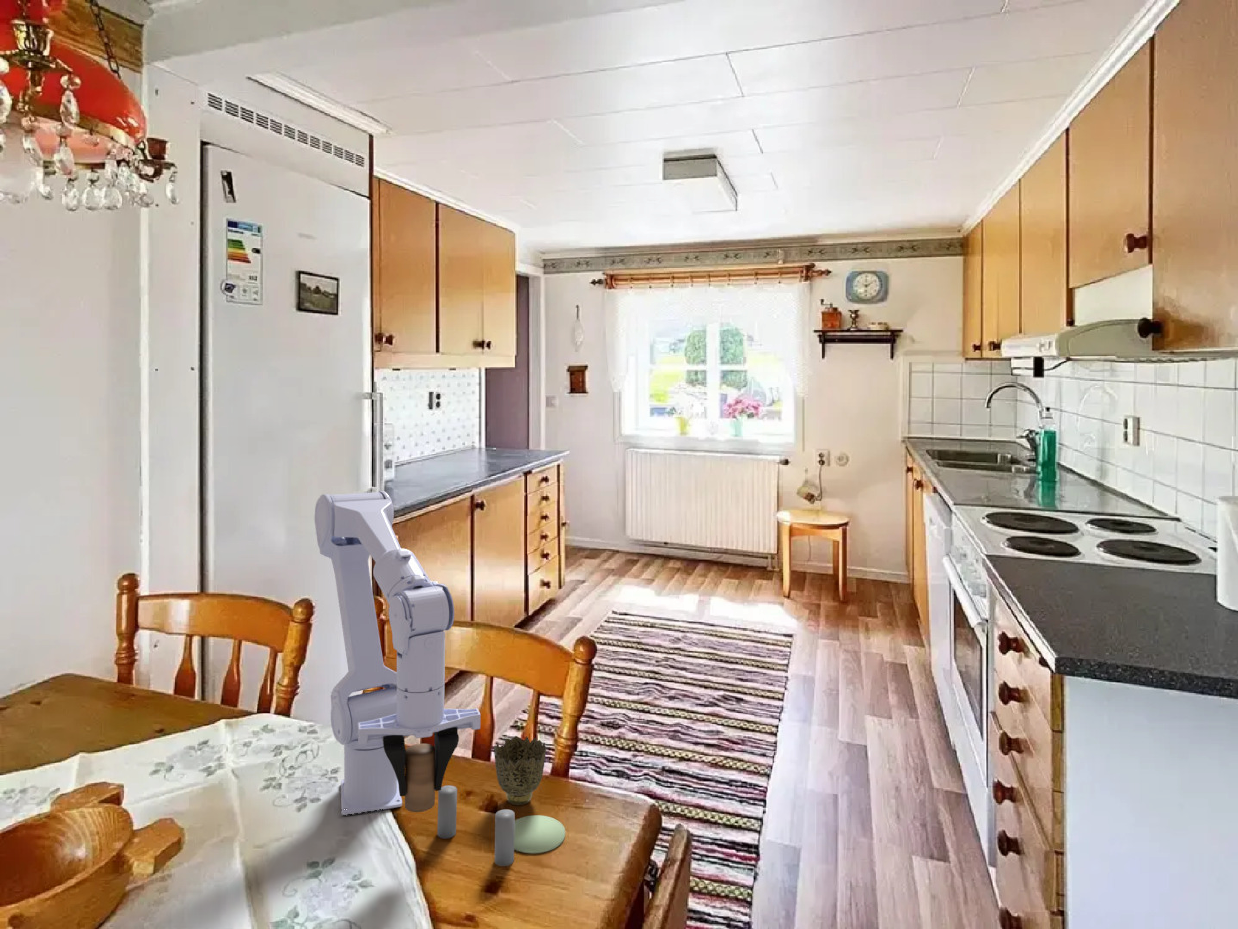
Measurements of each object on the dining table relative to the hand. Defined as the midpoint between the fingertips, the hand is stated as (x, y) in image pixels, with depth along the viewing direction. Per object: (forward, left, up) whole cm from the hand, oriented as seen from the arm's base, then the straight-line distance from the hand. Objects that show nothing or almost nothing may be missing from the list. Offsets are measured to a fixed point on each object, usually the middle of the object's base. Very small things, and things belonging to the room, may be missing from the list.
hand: (419, 789), depth 93 cm
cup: (-9, +15, -9) cm, 20 cm away
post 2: (+4, +10, -9) cm, 14 cm away
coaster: (0, +15, -9) cm, 17 cm away
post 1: (-4, +4, -9) cm, 11 cm away
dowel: (0, 0, -2) cm, 2 cm away
